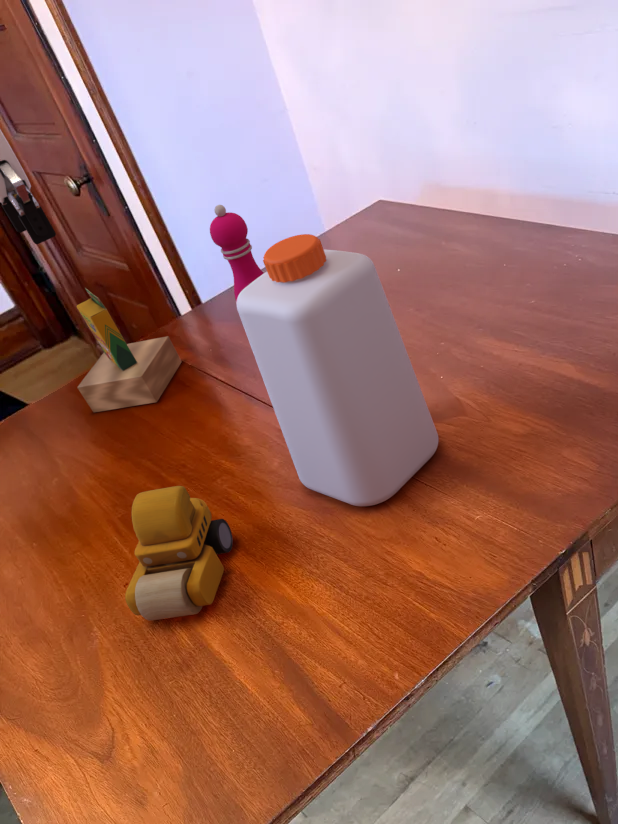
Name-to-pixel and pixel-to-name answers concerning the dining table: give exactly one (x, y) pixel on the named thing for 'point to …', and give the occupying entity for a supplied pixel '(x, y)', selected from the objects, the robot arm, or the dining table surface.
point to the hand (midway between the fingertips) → (36, 234)
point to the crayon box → (106, 332)
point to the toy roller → (175, 554)
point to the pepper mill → (235, 247)
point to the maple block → (131, 377)
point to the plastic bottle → (337, 371)
